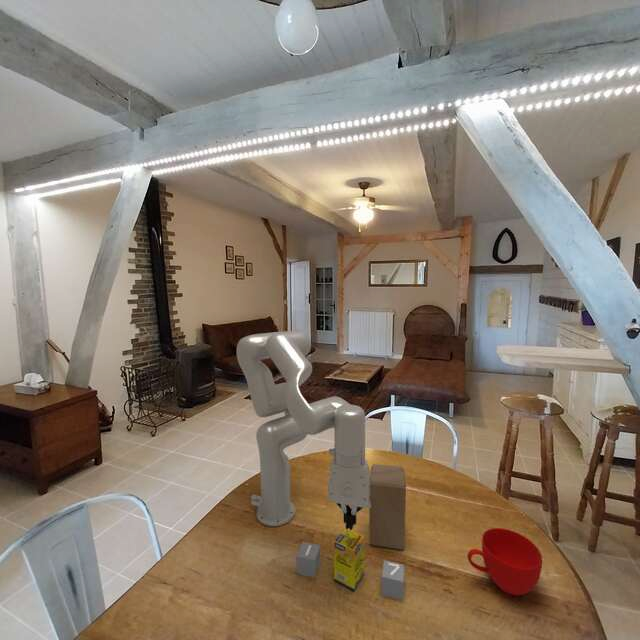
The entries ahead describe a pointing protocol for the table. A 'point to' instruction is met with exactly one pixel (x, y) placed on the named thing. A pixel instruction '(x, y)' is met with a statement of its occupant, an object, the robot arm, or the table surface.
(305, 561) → the slate block
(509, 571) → the ceramic cup
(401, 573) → the slate block
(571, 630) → the table surface
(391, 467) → the block
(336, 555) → the supplement box
